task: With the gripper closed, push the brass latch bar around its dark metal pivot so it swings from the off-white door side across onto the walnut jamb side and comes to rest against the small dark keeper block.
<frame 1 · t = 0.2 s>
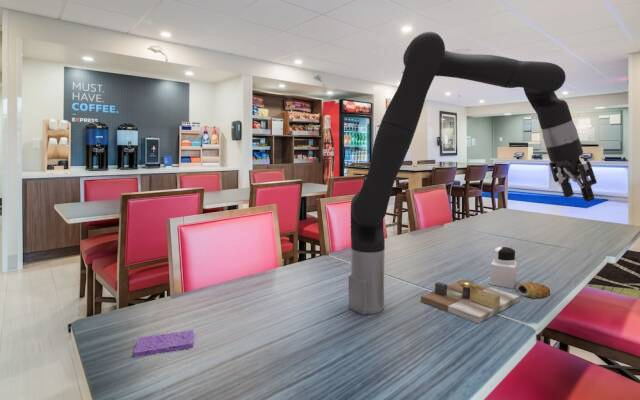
hand: (579, 198, 99), 31 cm above the table, tool tilted 20°, fingers open, 8 cm apart
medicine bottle: (502, 284, 123), on the table
sponges: (165, 348, 86), on the table
door board: (469, 301, 109), on the table
pastry: (532, 295, 114), on the table
latch bar: (478, 293, 104), point 4 cm above the table, hinge at -90.0°
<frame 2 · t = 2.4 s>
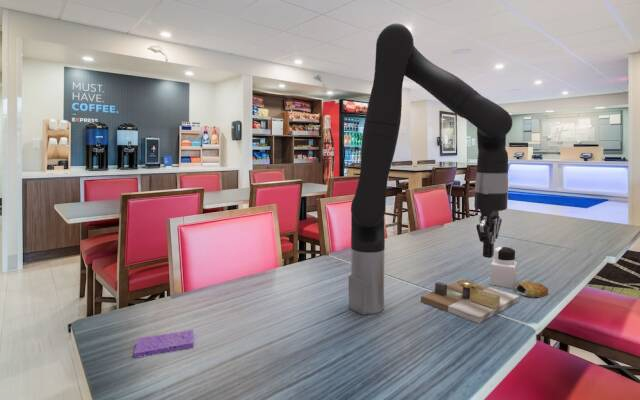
hand: (488, 256, 96), 16 cm above the table, tool pointing down, fingers closed
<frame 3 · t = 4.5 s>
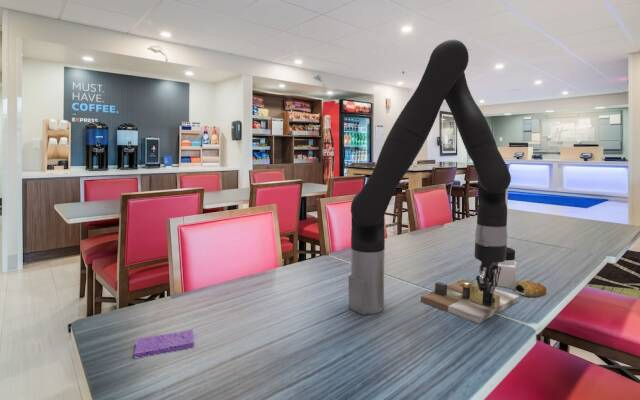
hand: (487, 304, 99), 3 cm above the table, tool pointing down, fingers closed
latch bar: (478, 293, 104), point 4 cm above the table, hinge at -89.8°, touching gripper
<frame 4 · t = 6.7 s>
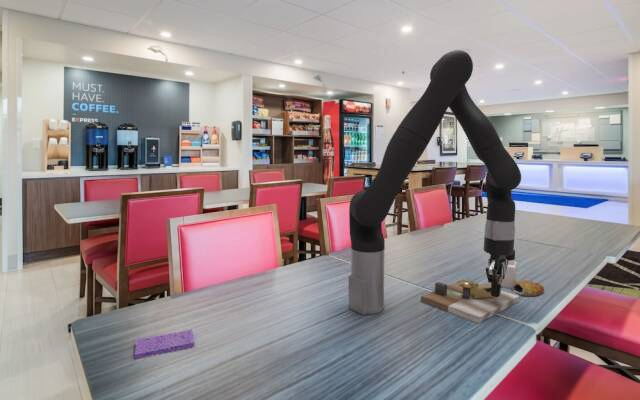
hand: (495, 295, 105), 3 cm above the table, tool pointing down, fingers closed
latch bar: (477, 288, 107), point 4 cm above the table, hinge at -29.5°, touching gripper
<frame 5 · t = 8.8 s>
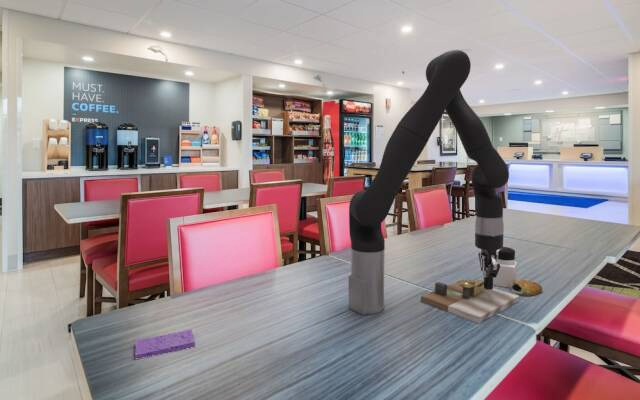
hand: (488, 288, 110), 3 cm above the table, tool pointing down, fingers closed
latch bar: (472, 286, 109), point 4 cm above the table, hinge at 5.1°, touching gripper
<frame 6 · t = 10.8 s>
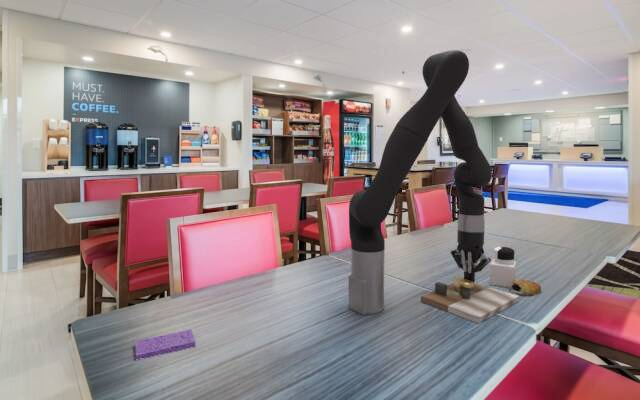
hand: (469, 283, 115), 3 cm above the table, tool pointing down, fingers closed
latch bar: (463, 285, 110), point 4 cm above the table, hinge at 46.2°, touching gripper
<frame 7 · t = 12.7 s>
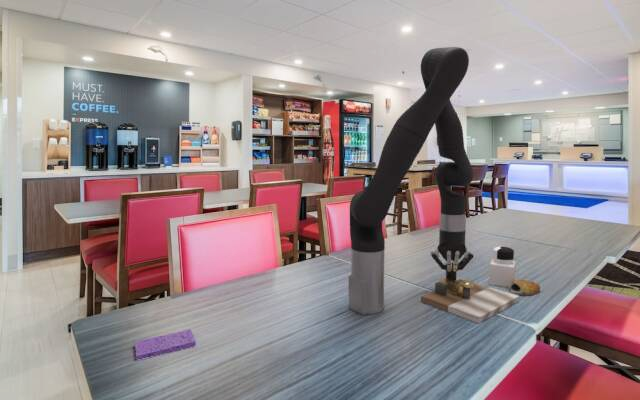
hand: (450, 282, 116), 3 cm above the table, tool pointing down, fingers closed
latch bar: (456, 285, 110), point 4 cm above the table, hinge at 81.7°, touching gripper
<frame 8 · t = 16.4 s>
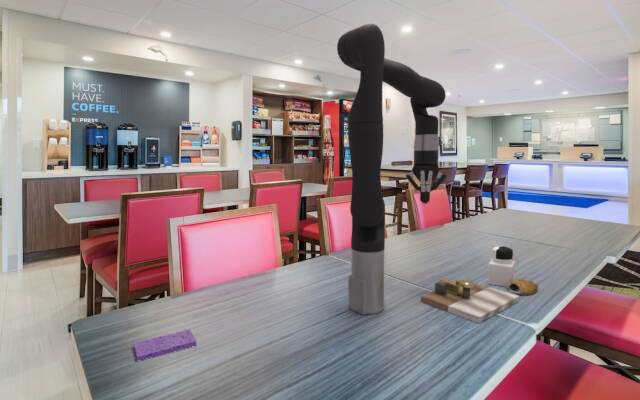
hand: (424, 203, 120), 27 cm above the table, tool pointing down, fingers closed
latch bar: (456, 285, 110), point 4 cm above the table, hinge at 82.0°
at the end: latch bar at +82° (first picture: -90°); latch bar touching nothing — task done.
